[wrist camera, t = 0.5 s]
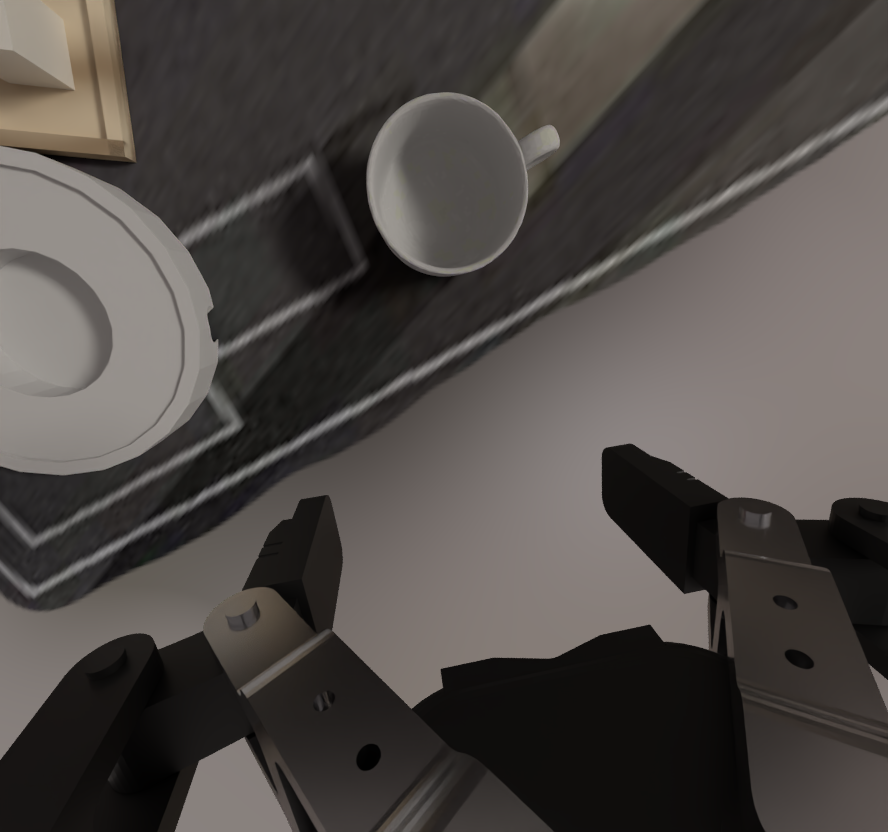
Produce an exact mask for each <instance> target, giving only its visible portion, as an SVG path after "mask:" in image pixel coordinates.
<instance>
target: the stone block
mask: <svg viewBox="0 0 888 832" xmlns="http://www.w3.org/2000/svg"><path fill="white" fill-rule="evenodd" d="M0 78H1V79H3V80H4V81H6V82H8V83H12V84H21V85H30V86H39V87H48V88H57V89H66V90H75V87H74V81H73V75H72V69H71V63H70V57H69V51H68V45H67V39H66V33H65V27H64V21H63V19H62V18H61V17H60V16H58V15H57V14H56V13H55V12H54V11H52V10H51V9H50V8H49V7H48V6H47V5H45V4H44V3H43V2H42V1H41V0H0Z"/></svg>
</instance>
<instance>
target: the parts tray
mask: <svg viewBox="0 0 888 832" xmlns="http://www.w3.org/2000/svg"><path fill="white" fill-rule="evenodd" d="M41 1H42V2H43V3H44V4H45V5H47V6H48V7H49V8H50V9H51V10H52V11H54V12H55V13H56V14H57V15H58V16H60V17H61V18H62V19H63V21H64V27H65V33H66V39H67V45H68V51H69V57H70V63H71V69H72V75H73V81H74V87H75V90H66V89H57V88H48V87H39V86H30V85H21V84H12V83H8V82H6V81H4V80H3V79H1V78H0V146H3V147H8V148H13V149H18V150H23V151H28V152H34V153H37V154H47V155H58V156H69V157H80V158H91V159H102V160H113V161H125V162H136V155H135V148H134V141H133V133H132V126H131V119H130V112H129V104H128V97H127V90H126V83H125V75H124V68H123V61H122V54H121V46H120V39H119V32H118V25H117V18H116V10H115V3H114V0H41ZM136 163H137V162H136Z"/></svg>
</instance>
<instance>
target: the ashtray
mask: <svg viewBox="0 0 888 832" xmlns="http://www.w3.org/2000/svg"><path fill="white" fill-rule="evenodd" d="M212 308H213V303H212V300H211V296H210V292H209V288H208V287H207V285H206V283H205V281H204V279H203V277H202V275H201V274H200V272H199V270H198V268H197V266H196V264H195V262H194V261H193V259H192V257H191V255H190V253H189V251H188V250H187V249H186V248H185V247H184V246H183V245H182V243H181V242H180V241H179V240H178V239H177V238H176V237H175V235H174V234H173V233H172V232H171V231H170V230H169V229H168V227H167V226H166V225H165V224H164V223H163V222H162V221H161V219H160V218H159V217H157V216H156V215H155V214H153V213H152V212H151V211H149V210H148V209H147V208H145V207H144V206H143V205H141V204H140V203H139V202H137V201H136V200H135V199H133V198H132V197H130V196H129V195H128V194H126V193H125V192H124V191H122V190H121V189H119V188H117V187H115V186H113V185H111V184H108V183H106V182H104V181H102V180H99V179H97V178H95V177H93V176H91V175H88V174H86V173H84V172H82V171H79V170H77V169H75V168H72V167H70V166H67V165H65V164H62V163H60V162H57V161H55V160H52V159H50V158H47V157H45V156H42V155H39V154H37V153H34V152H28V151H23V150H18V149H13V148H8V147H3V146H0V466H2V467H5V468H9V469H12V470H16V471H19V472H30V473H42V474H54V475H69V474H77V473H84V472H91V471H99V470H105V469H107V468H110V467H112V466H115V465H117V464H120V463H122V462H125V461H127V460H130V459H132V458H135V457H137V456H140V455H141V454H143V453H144V452H146V451H147V450H149V449H150V448H152V447H153V446H155V445H156V444H158V443H159V442H161V441H162V440H164V439H165V438H166V437H168V436H169V435H170V434H171V433H173V432H174V431H175V430H177V429H178V428H179V427H181V426H182V425H183V424H184V423H186V422H187V421H188V420H189V419H190V418H191V416H192V415H193V414H194V412H195V411H196V409H197V408H198V407H199V405H200V404H201V402H202V401H203V399H204V398H205V397H206V395H207V394H208V391H209V388H210V385H211V382H212V378H213V375H214V372H215V369H216V366H217V363H218V339H217V340H216V341H215V342H213V340H212V338H211V333H210V326H209V323H208V318H207V313H208V312H209V311H210V310H211V309H212Z"/></svg>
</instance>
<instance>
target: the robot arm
mask: <svg viewBox="0 0 888 832" xmlns="http://www.w3.org/2000/svg"><path fill="white" fill-rule="evenodd" d="M602 500H603V504H604V507H605V510H606V512H607V514H608V515H609V516H610V518H611V519H612V520H613V521H614V522H615V523H616V524H617V525H618V526H619V527H620V528H621V529H622V530H623V531H624V532H625V533H626V534H627V535H628V536H629V537H630V538H631V539H632V540H633V541H634V542H635V544H637V546H639V548H640V549H641V550H642V551H643V552H644V553H645V554H646V555H647V556H648V557H649V558H650V559H651V560H652V561H653V562H654V563H655V564H656V565H657V566H658V567H659V568H660V569H661V570H662V572H663V573H665V575H666V576H667V577H668V578H669V579H670V580H671V581H672V582H673V583H674V584H675V585H676V586H677V587H678V588H679V589H680V590H681V591H682V592H683V593H684V594H686V593H691V592H696V591H701V590H707V592H709V596H708V635H709V650H707V649H703V648H700V647H696V646H692V645H687V644H682V643H673V642H663V641H662V640H661V638H660V637H659V636H658V634H657V633H656V632H655V631H654V629H653V628H652V627H651V625H646V626H641V627H636V628H632V629H627V630H622V631H617V632H613V633H608V634H603V635H600V636H598V637H596V638H594V639H592V640H590V641H588V642H586V643H584V644H582V645H580V646H578V647H576V648H574V649H572V650H570V651H568V652H566V653H564V654H562V655H560V656H558V657H555V658H551V659H533V658H529V659H528V658H490V659H485V660H481V661H476V662H471V663H467V664H462V665H458V666H453V667H448V668H443V669H441V675H442V683H443V688H442V689H440V690H439V691H437V692H435V693H433V694H431V695H430V696H428V697H427V698H425V699H424V700H422V701H421V702H420V703H419V704H417V705H416V706H415V707H414V708H412V709H411V708H410V707H409V706H408V705H407V704H406V703H405V702H404V701H403V700H402V699H401V698H400V697H399V696H398V695H397V694H396V693H395V692H394V691H393V690H392V689H390V688H389V686H387V684H386V683H385V682H383V681H382V680H381V679H380V678H379V677H378V676H377V675H376V674H375V673H374V672H373V671H372V670H371V669H370V668H369V667H368V666H367V665H366V664H365V663H364V662H363V661H362V660H361V659H360V658H359V657H358V656H357V655H356V654H355V653H354V652H353V651H352V650H351V649H350V648H349V647H348V646H347V645H346V644H345V643H344V642H343V641H342V640H341V639H340V638H339V637H338V636H337V635H336V634H335V633H334V632H333V631H332V628H333V621H334V614H335V609H336V603H337V596H338V590H339V584H340V577H341V571H342V563H343V556H342V547H341V541H340V537H339V533H338V528H337V524H336V520H335V516H334V512H333V507H332V503H331V500H330V497H329V496H328V495H324V496H319V497H313V498H307V499H301V500H300V501H299V503H298V506H297V508H296V511H295V513H294V516H293V518H292V519H288V520H283V521H281V522H280V523H279V524H278V525H277V526H276V527H275V528H274V529H273V530H272V531H271V532H270V533H269V535H268V537H267V539H266V541H265V543H264V548H262V549H261V552H260V554H259V558H258V559H257V560H256V562H255V564H254V566H253V568H252V570H251V573H250V575H249V577H248V579H247V581H246V583H245V585H244V587H243V589H242V591H241V592H239V593H236V594H234V595H232V596H231V597H229V598H227V599H226V600H224V601H223V602H221V603H220V604H219V605H218V606H217V607H216V608H214V610H213V611H212V612H211V613H210V614H209V616H208V617H207V619H206V621H205V623H204V626H203V631H202V632H200V633H197V634H195V635H193V636H190V637H188V638H186V639H183V640H181V641H178V642H176V643H174V644H171V645H169V646H166V647H164V648H161V649H159V650H158V649H157V647H156V644H155V643H154V640H153V638H152V637H151V636H149V635H147V634H131V635H127V636H124V637H120V638H117V639H115V640H112V641H110V642H108V643H106V644H104V645H102V646H101V647H99V648H97V649H95V650H94V651H92V652H91V653H89V654H88V655H87V656H85V657H84V658H83V659H81V660H80V661H79V662H78V663H77V664H75V665H74V667H72V668H71V670H70V671H69V672H68V673H67V674H66V675H65V676H64V678H63V679H62V680H61V682H60V683H59V684H58V686H57V687H56V688H55V689H54V691H53V692H52V693H51V695H50V696H49V697H48V699H47V700H46V701H45V703H44V704H43V705H42V706H41V708H40V709H39V710H38V712H37V713H36V714H35V716H34V717H33V718H32V719H31V721H30V722H29V723H28V725H27V726H26V727H25V729H24V730H23V731H22V733H21V734H20V735H19V737H18V738H17V739H16V741H15V742H14V743H13V744H12V746H11V747H10V748H9V750H8V751H7V752H6V754H5V755H4V756H3V757H2V759H1V760H0V832H175V829H176V826H177V823H178V820H179V817H180V815H181V811H182V809H183V805H184V803H185V800H186V797H187V794H188V791H189V788H190V785H191V782H192V779H193V776H194V774H195V770H196V768H197V765H198V762H199V760H201V759H203V758H205V757H207V756H209V755H211V754H213V753H215V752H216V751H218V750H220V749H222V748H224V747H226V746H228V745H230V744H232V743H234V742H236V741H237V740H240V739H241V738H243V737H245V740H246V742H247V744H248V746H249V747H250V749H251V751H252V753H253V755H254V757H255V759H256V761H257V763H258V764H259V766H260V768H261V770H262V772H263V774H264V776H265V778H266V779H267V782H268V783H269V785H270V787H271V789H272V791H273V793H274V795H275V797H276V799H277V801H278V802H279V804H280V806H281V808H282V810H283V812H284V814H285V816H286V818H287V820H288V823H289V825H290V827H291V829H292V832H888V711H887V708H886V706H885V703H884V701H883V699H882V696H881V694H880V691H879V689H878V687H877V684H876V682H875V679H874V677H873V674H872V672H871V669H870V667H869V664H870V665H871V666H872V667H873V668H874V669H875V670H877V671H878V672H879V673H880V674H881V675H883V676H884V677H885V678H886V679H887V680H888V502H883V501H879V500H873V499H866V498H844V499H840V500H837V501H835V502H834V503H833V504H832V508H831V513H830V518H829V520H795V518H794V516H793V515H792V514H791V513H790V512H789V511H787V510H786V509H784V508H782V507H780V506H778V505H776V504H773V503H770V502H767V501H763V500H758V499H752V498H730V499H728V498H727V497H725V496H724V495H722V494H720V493H719V492H717V491H716V490H714V489H712V488H711V487H709V486H708V485H706V484H704V483H703V482H701V481H700V480H695V477H693V476H691V475H690V474H688V473H684V471H683V470H682V469H680V468H679V467H677V466H675V465H674V464H672V463H671V462H668V461H665V460H662V459H659V458H656V457H653V456H650V455H649V454H647V453H646V452H644V451H642V450H641V449H639V448H638V447H636V446H635V445H633V444H626V445H619V446H614V447H608V448H605V449H604V450H603V453H602Z"/></svg>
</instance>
